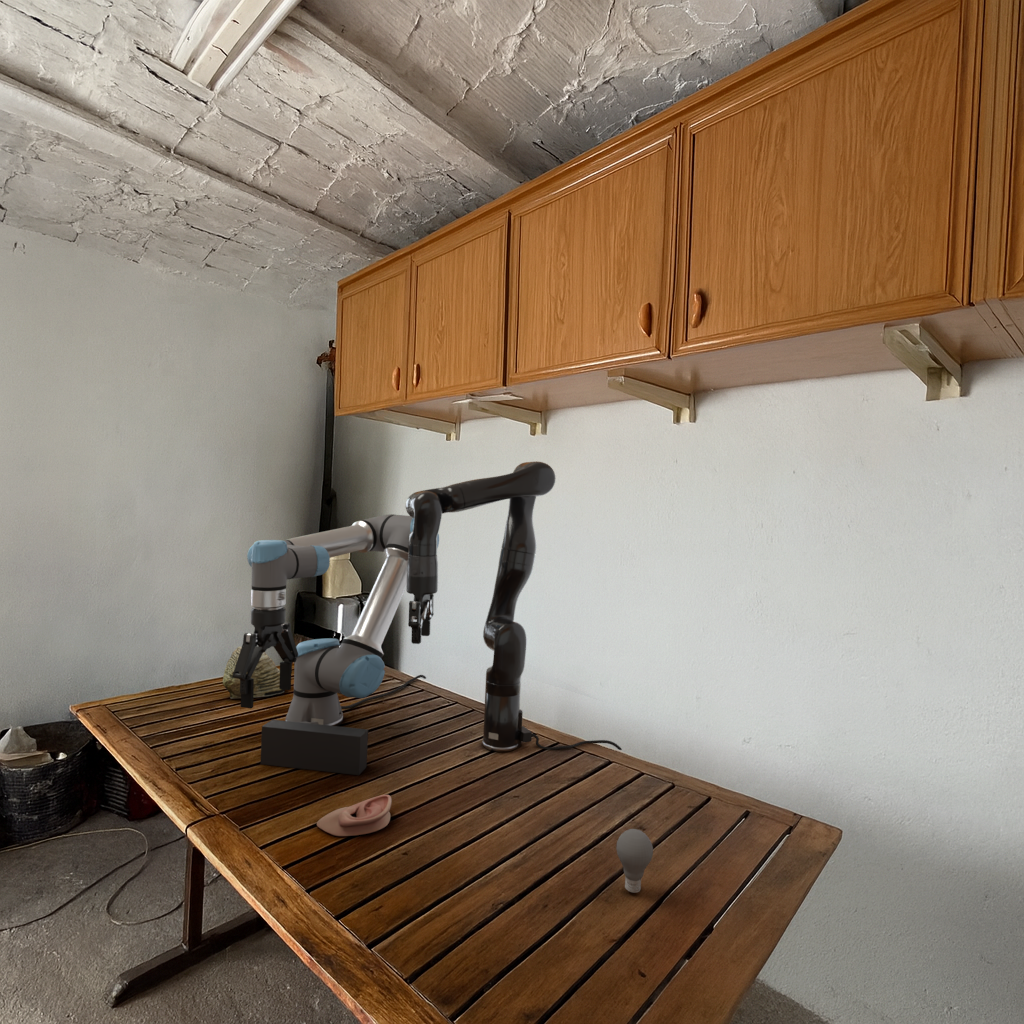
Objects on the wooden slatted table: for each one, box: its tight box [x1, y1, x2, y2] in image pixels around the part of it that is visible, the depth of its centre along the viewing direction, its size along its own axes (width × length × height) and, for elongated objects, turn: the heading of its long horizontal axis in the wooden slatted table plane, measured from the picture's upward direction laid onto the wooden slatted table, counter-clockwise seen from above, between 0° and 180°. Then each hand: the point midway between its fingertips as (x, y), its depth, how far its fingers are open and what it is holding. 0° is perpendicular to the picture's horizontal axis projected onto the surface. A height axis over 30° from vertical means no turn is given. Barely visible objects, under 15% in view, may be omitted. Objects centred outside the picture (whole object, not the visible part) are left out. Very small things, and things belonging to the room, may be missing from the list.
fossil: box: [222, 646, 286, 699], centre depth 198 cm, size 9×18×15 cm, turn 132°
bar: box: [260, 719, 369, 776], centre depth 149 cm, size 24×5×9 cm, turn 81°
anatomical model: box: [316, 794, 393, 837], centre depth 124 cm, size 13×4×12 cm
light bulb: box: [615, 828, 654, 894], centre depth 106 cm, size 6×6×10 cm
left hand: (266, 698), depth 147 cm, fingers open, 13 cm apart
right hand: (421, 639), depth 155 cm, fingers open, 8 cm apart
